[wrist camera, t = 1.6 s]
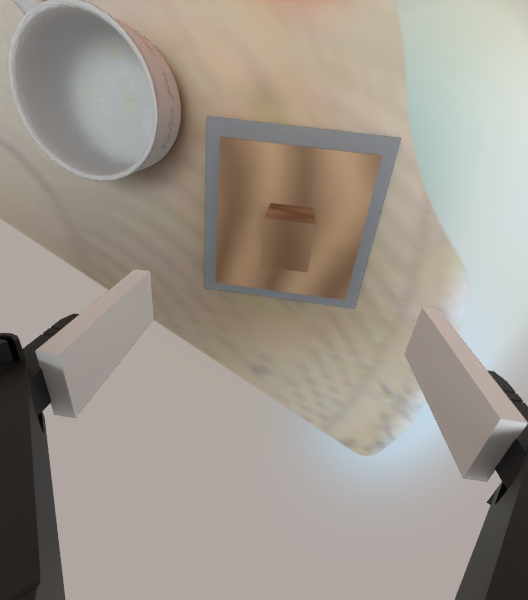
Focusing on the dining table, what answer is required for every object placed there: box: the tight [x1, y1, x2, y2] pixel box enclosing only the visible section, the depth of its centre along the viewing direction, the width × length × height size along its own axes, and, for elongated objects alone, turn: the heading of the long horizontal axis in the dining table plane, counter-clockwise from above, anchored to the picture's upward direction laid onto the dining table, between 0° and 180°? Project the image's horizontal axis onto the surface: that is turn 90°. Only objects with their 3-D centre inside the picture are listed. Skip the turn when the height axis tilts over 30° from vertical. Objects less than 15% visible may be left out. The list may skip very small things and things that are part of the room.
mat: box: [204, 116, 401, 309], centre depth 32 cm, size 17×17×1 cm
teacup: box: [8, 0, 181, 181], centre depth 25 cm, size 14×11×8 cm
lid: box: [215, 137, 382, 300], centre depth 29 cm, size 14×14×7 cm
